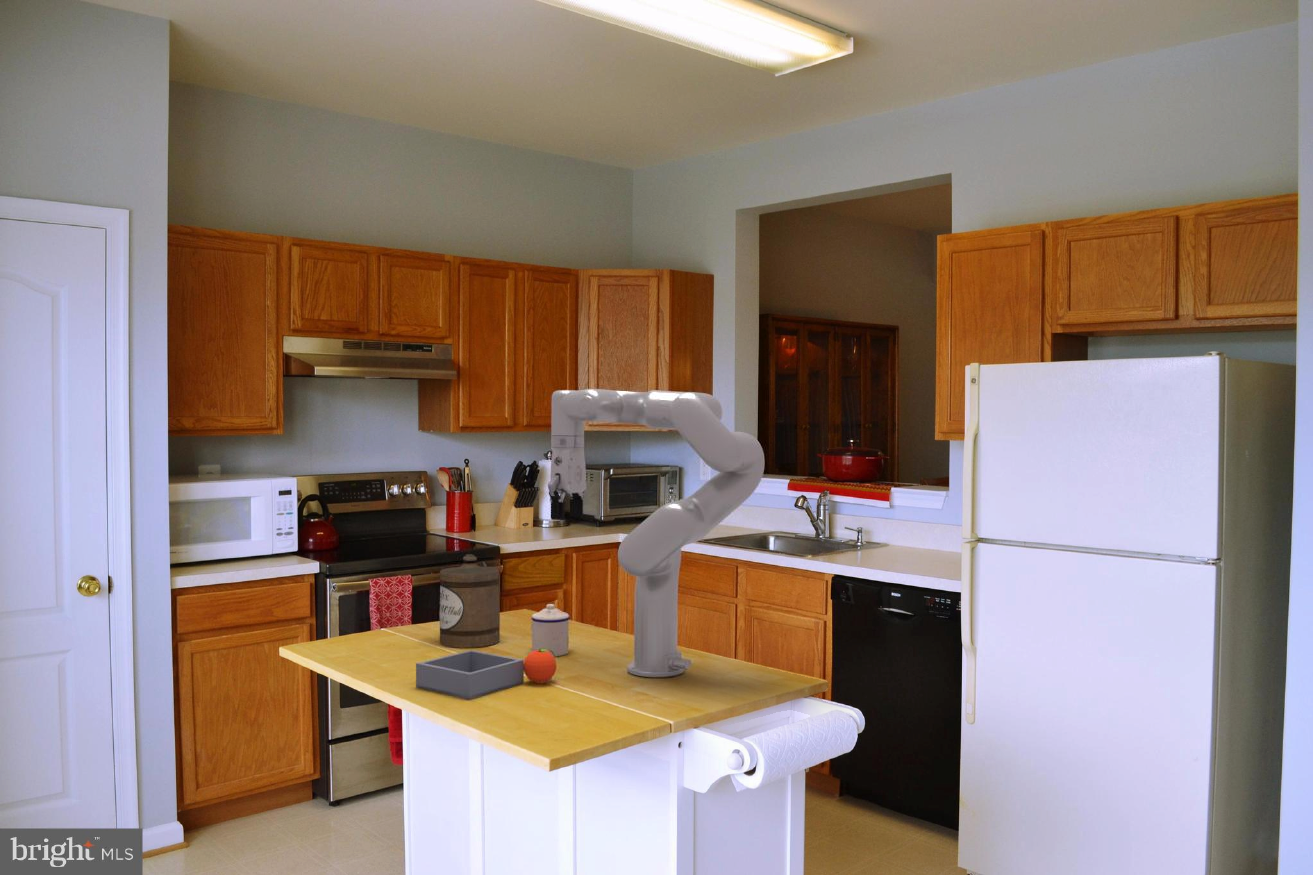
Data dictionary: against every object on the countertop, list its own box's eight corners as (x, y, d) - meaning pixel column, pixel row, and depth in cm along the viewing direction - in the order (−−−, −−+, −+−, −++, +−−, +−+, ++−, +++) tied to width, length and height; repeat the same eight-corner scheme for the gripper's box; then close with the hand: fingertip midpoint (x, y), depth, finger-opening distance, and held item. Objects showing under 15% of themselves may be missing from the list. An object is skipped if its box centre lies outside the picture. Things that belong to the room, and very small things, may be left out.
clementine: (543, 675, 216) (544, 643, 216) (566, 681, 212) (566, 647, 212) (516, 683, 210) (516, 649, 210) (539, 688, 206) (539, 654, 206)
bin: (523, 683, 210) (523, 659, 210) (469, 699, 197) (469, 674, 197) (471, 672, 219) (471, 649, 219) (416, 687, 206) (416, 663, 206)
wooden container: (433, 638, 254) (434, 552, 254) (490, 634, 260) (491, 549, 260) (447, 650, 240) (447, 559, 240) (506, 645, 247) (507, 556, 246)
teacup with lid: (577, 653, 238) (577, 604, 238) (545, 659, 232) (545, 609, 232) (547, 645, 247) (548, 598, 247) (516, 650, 241) (517, 602, 241)
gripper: (565, 444, 221) (565, 521, 221) (597, 443, 237) (597, 515, 237) (535, 444, 223) (534, 520, 223) (569, 443, 239) (568, 514, 240)
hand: (567, 517), depth 230 cm, fingers open, 9 cm apart
